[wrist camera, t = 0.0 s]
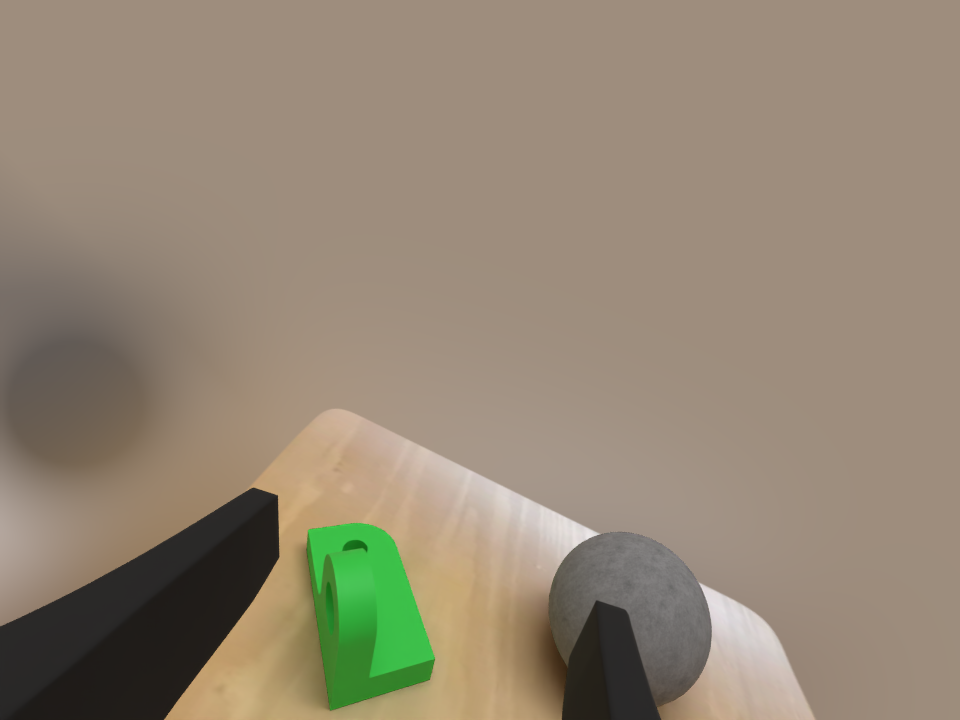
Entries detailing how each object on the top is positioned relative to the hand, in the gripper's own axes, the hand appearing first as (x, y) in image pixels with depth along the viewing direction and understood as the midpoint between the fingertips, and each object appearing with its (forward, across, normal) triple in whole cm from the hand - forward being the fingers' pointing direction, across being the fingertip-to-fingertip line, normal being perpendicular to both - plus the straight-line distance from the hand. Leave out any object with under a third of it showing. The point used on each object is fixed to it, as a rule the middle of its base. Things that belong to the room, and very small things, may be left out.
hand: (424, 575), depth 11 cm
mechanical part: (+13, +6, +23) cm, 27 cm away
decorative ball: (+15, -11, +23) cm, 30 cm away
